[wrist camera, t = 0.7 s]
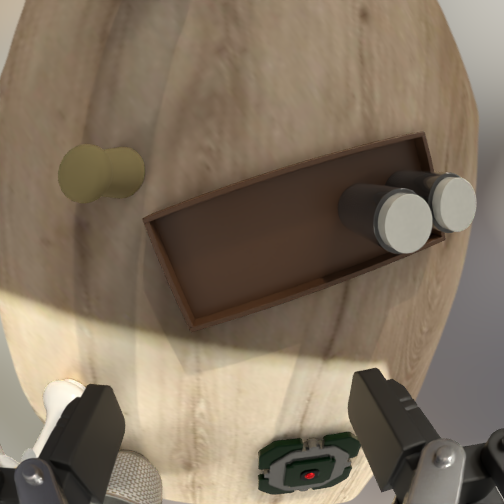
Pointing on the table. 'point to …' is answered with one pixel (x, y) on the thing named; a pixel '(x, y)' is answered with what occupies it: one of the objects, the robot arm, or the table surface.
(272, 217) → the tray
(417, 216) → the cylinder
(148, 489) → the planter
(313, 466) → the flat green button pad
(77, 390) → the flower vase
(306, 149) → the table surface
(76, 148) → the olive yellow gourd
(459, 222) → the black shaker
